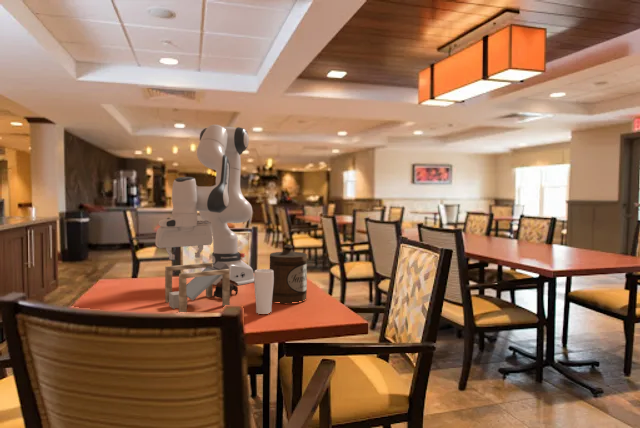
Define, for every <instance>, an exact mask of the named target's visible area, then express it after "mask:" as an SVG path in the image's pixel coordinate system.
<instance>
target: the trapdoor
mask: <svg viewBox="0 0 640 428" xmlns="http://www.w3.org/2000/svg"><path fill="white" fill-rule="evenodd" d="M212 267H213V268H212ZM212 267H209V266H207V268H203V269H202V271H201V272H203V271H213V270H223V269H228V268H229V267H228V266H227V264H225V263H222V262H219V261H218V262H216V263H215V264H214V265H213V264H212ZM221 275H222V274H221ZM221 275H212V276H202V277H193V278H192V279H191V280H190V281H189V282H187V283H186V293H187V299H190V300H191V301H194V300H195V299H196V298H198V297H199V296H200V295H201V294H202V293H203V292H205V291H206V288H208V287H209V286H210V285H211V284H212V283H213V282H214V281H216V280H217V279H218V278H219V277H220V276H221Z"/></svg>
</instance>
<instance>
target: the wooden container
mask: <svg viewBox="0 0 640 428" xmlns="http://www.w3.org/2000/svg"><path fill="white" fill-rule="evenodd" d="M283 248H284V250H283V251H276V252H272V253H270V254H269V269H271V270H273V271H274V285H273V296H272V301H273V302H280V303H292V302H299V301H303V300H305V299H306V300H307V288H308V287H307V286H308V283H307V282H308V281H307V280H308V278H307V277H308V276H307V275H308V274H307V273H308V269H307V268H308V267H307V264H308V262H307V258H308V255H307V253H305V252H300V251H299V252H298V251H294V250H293V245H291V244H289V243H287V244H285V245H284V246H283ZM273 302H272V303H273Z"/></svg>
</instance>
